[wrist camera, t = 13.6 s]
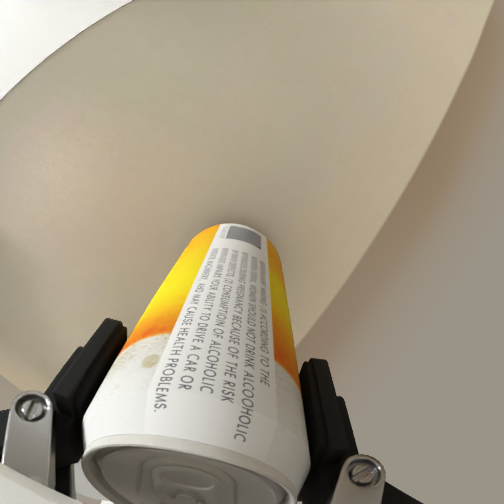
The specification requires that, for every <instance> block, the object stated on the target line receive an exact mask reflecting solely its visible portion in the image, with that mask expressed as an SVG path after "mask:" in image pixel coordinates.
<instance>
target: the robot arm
mask: <svg viewBox="0 0 504 504" xmlns="http://www.w3.org/2000/svg"><path fill="white" fill-rule="evenodd" d="M126 341H127V328H126V327H124V326H123V324H122V322H121V321H117V320H113V319H110V318H106V319H105V320H104V321H103V323H102V324H101V325H100V327H99V328H98V329H97V330H96V332H95V333H94V334H93V336H92V337H91V338H90V340H89V341H88V342H87V344H86V345H85V346H84V347H78V348H77V349H76V350H75V352H74V353H73V354H72V356H71V357H70V358H69V360H68V361H67V362H66V364H65V365H64V366H63V368H62V369H61V370H60V372H59V373H58V375H57V376H56V377H55V379H54V380H53V381H52V383H51V384H50V386H49V387H48V388H47V390H46V391H45V393H44V394H43V393H42V392H39V391H25V392H22V393H20V394H18V395H17V396H16V397H15V398H14V399H13V401H12V404H11V407H10V409H7V410H2V411H0V504H85V503H82V502H80V501H77V500H76V491H75V473H74V464H75V463H79V460H80V459H82V456H83V454H84V448H83V435H82V421H83V417H84V415H85V413H86V411H87V409H88V407H89V405H90V404H91V402H92V400H93V398H94V396H95V395H96V393H97V391H98V389H99V388H100V386H101V384H102V382H103V381H104V379H105V377H106V375H107V374H108V372H109V370H110V368H111V367H112V365H113V363H114V362H115V360H116V358H117V356H118V355H119V353H120V351H121V350H122V348H123V346H124V345H125V343H126ZM299 380H300V387H301V394H302V401H303V409H304V416H305V423H306V431H307V438H308V446H309V454H310V464H311V465H310V471H309V473H308V476H307V478H306V480H305V482H304V484H303V486H302V488H301V490H300V492H299V494H298V496H297V501H302V504H423V503H421V502H419V501H417V500H416V499H414V498H412V497H411V496H409V495H407V494H405V493H404V492H402V491H400V490H398V489H397V488H395V487H394V486H392V485H390V484H389V483H387V482H385V477H386V476H385V470H384V467H383V466H382V464H381V463H380V462H379V461H378V460H376V459H375V458H373V457H371V456H368V455H363V454H360V455H359V453H358V450H357V446H356V442H355V438H354V434H353V430H352V427H351V423H350V419H349V416H348V412H347V408H346V405H345V401H344V399H343V398H342V397H341V396H336V392H335V388H334V385H333V381H332V377H331V373H330V369H329V366H328V362H327V361H326V360H323V359H315V358H311V359H310V360H309V362H306V361H305V362H304V363H303V365H302V368H301V371H300V373H299ZM101 504H114V503H112V502H111V501H104V500H102V502H101Z"/></svg>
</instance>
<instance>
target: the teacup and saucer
mask: <svg viewBox="0 0 504 504" xmlns="http://www.w3.org/2000/svg"><path fill="white" fill-rule="evenodd" d="M130 1H132V0H0V100H1V99H2V98H3V97H4V96H5V95H6V94H7V93H8V92H9V91H10V90H11V89H12V88H13V87H14V86H15V85H16V84H17V83H18V82H19V81H20V80H21V79H22V78H23V77H25V76H26V75H27V74H28V73H29V72H30V71H31V70H32V69H34V68H35V67H36V66H37V65H38V64H40V63H41V62H42V61H43V60H44V59H46V58H47V57H48V56H49V55H51V54H52V53H53V52H54V51H56V50H57V49H58V48H60V47H61V46H62V45H63V44H65V43H66V42H68V41H69V40H70V39H72V38H73V37H74V36H76V35H77V34H79V33H80V32H82V31H83V30H85V29H86V28H88V27H89V26H91V25H92V24H94V23H95V22H97V21H98V20H100V19H101V18H103V17H105V16H106V15H108V14H110V13H111V12H113V11H115V10H116V9H118V8H120V7H121V6H123V5H125V4H127V3H129V2H130Z"/></svg>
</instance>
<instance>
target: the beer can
mask: <svg viewBox="0 0 504 504" xmlns="http://www.w3.org/2000/svg"><path fill="white" fill-rule="evenodd" d="M82 435H83V448H84V454H83V456H82V460H81V467H82V470H83V473H84V475H85V477H86V478H87V480H88V481H89V482H90V484H91V485H92V486H93V487H94V488H95V489H96V490H97V491H98V492H99V493H100V494H102V495H103V496H104V497H105V498H107V499H108V500H110V501H111V502H112V503H114V504H297V496H298V494H299V492H300V490H301V488H302V486H303V484H304V482H305V480H306V478H307V476H308V473H309V471H310V465H311V464H310V454H309V446H308V438H307V431H306V423H305V416H304V409H303V401H302V394H301V387H300V380H299V373H298V367H297V360H296V354H295V347H294V340H293V334H292V327H291V321H290V315H289V308H288V302H287V296H286V290H285V284H284V278H283V272H282V266H281V261H280V257H279V255H278V253H277V251H276V249H275V247H274V246H273V245H272V243H271V242H270V241H269V240H268V239H267V238H266V237H265V236H264V235H263V234H261V233H260V232H258V231H256V230H254V229H252V228H250V227H247V226H244V225H240V224H219V225H215V226H212V227H209V228H207V229H205V230H203V231H202V232H200V233H199V234H197V235H196V236H195V237H194V238H193V239H192V240H191V241H190V243H189V244H188V246H187V247H186V249H185V250H184V252H183V253H182V255H181V256H180V258H179V259H178V261H177V262H176V264H175V265H174V267H173V268H172V270H171V271H170V273H169V274H168V276H167V277H166V279H165V280H164V282H163V284H162V285H161V287H160V288H159V290H158V291H157V293H156V294H155V296H154V298H153V299H152V301H151V302H150V304H149V306H148V307H147V309H146V310H145V312H144V314H143V315H142V317H141V318H140V320H139V322H138V323H137V325H136V327H135V328H134V330H133V331H132V333H131V335H130V336H129V338H128V340H127V341H126V343H125V345H124V346H123V348H122V350H121V351H120V353H119V355H118V356H117V358H116V360H115V362H114V363H113V365H112V367H111V368H110V370H109V372H108V374H107V375H106V377H105V379H104V381H103V382H102V384H101V386H100V388H99V389H98V391H97V393H96V395H95V396H94V398H93V400H92V402H91V404H90V405H89V407H88V409H87V411H86V413H85V415H84V417H83V421H82Z"/></svg>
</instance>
